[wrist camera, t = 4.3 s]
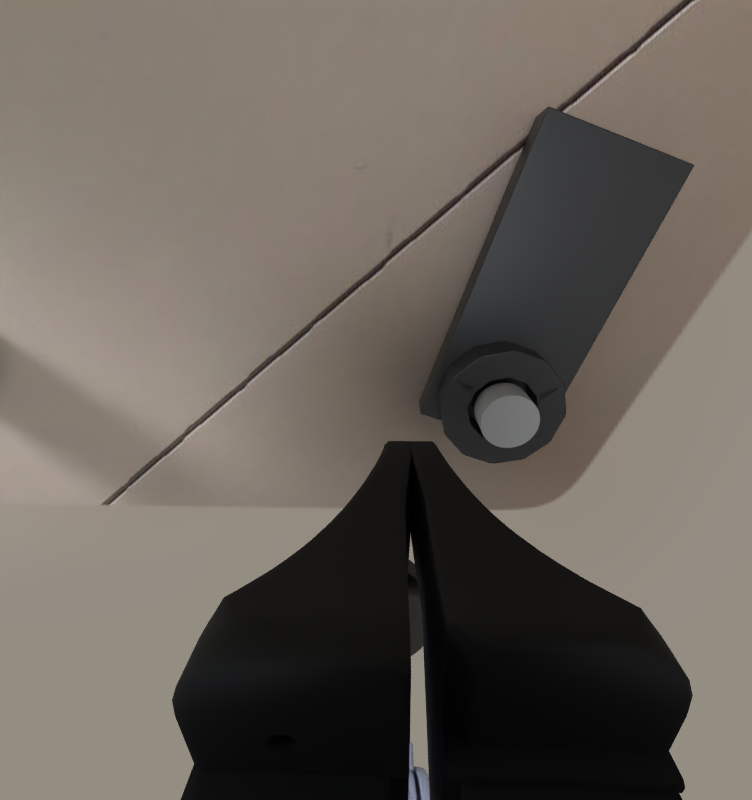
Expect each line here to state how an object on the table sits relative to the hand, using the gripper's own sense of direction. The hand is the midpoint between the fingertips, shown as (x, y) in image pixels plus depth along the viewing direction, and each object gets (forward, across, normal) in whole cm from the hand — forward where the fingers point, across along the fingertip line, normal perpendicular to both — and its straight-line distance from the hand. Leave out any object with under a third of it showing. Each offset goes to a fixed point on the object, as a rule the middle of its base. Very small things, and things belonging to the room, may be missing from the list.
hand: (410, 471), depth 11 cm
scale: (+10, -6, -3) cm, 11 cm away
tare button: (+7, -4, +1) cm, 8 cm away
